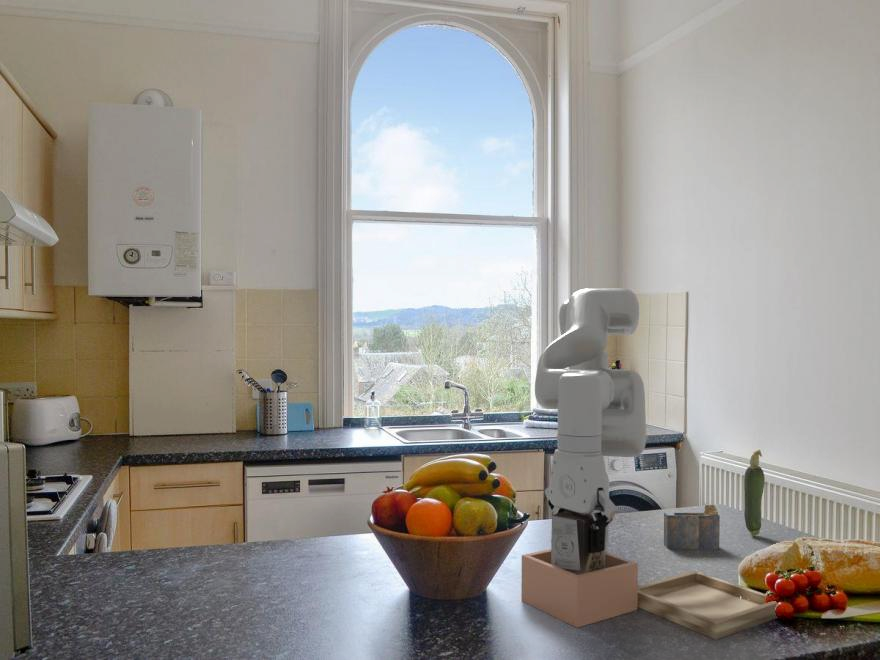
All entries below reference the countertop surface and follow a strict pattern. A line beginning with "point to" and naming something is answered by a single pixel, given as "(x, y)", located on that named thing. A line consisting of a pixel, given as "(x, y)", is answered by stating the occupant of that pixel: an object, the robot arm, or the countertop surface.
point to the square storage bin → (580, 589)
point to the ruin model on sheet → (692, 529)
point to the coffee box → (574, 544)
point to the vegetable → (753, 494)
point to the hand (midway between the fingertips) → (578, 544)
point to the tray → (706, 604)
